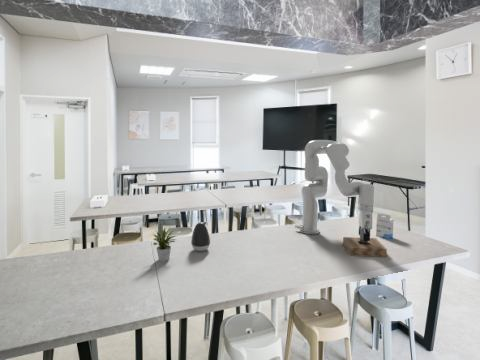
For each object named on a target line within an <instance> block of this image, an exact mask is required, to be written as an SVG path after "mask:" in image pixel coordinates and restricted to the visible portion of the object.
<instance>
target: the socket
mask: <svg viewBox="0 0 480 360" xmlns="http://www.w3.org/2000/svg"><path fill="white" fill-rule="evenodd" d="M342 244H343V246H344V248H345V249H346V251H347V253H348V254H349V256H358V257H359V256H360V257H363V256H364V257H382V258H386V257H387V253H388V251H387V248H386V247H385V246H384V245H383V244H382V243H381V242H380V241H379V240H378V239H377V237H376V238H374V237H373V238H371V237H370V241H368V244H367V245H364V244H360V237H354V236H353V237H349V236H344V237H343V238H342Z"/></svg>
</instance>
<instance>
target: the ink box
mask: <svg viewBox="0 0 480 360" xmlns="http://www.w3.org/2000/svg"><path fill="white" fill-rule="evenodd" d="M375 233H376V234H375V236H376V237H379V238H383V239H388V240H390V239H392V238H393V237H394V218H391V214H385V213H379V212H377V216H376V229H375Z"/></svg>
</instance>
